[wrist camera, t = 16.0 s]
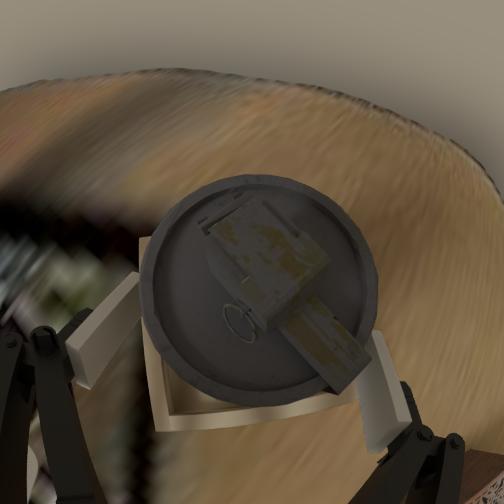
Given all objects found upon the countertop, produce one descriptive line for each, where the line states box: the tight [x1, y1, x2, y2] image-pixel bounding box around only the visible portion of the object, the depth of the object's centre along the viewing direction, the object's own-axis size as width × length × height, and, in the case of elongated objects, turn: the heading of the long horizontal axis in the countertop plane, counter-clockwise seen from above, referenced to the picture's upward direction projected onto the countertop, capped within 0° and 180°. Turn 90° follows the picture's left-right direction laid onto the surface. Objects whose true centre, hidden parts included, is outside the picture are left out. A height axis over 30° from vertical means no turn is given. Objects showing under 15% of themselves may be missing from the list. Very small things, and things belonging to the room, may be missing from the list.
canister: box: [138, 174, 378, 407], centre depth 19 cm, size 11×10×20 cm
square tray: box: [139, 236, 359, 431], centre depth 27 cm, size 20×20×4 cm
